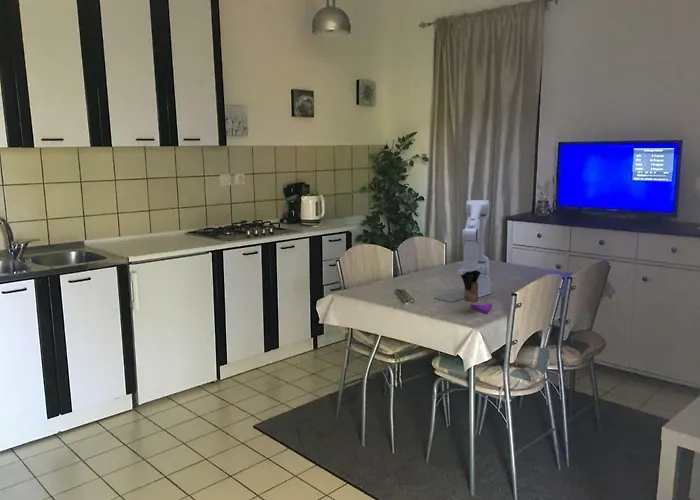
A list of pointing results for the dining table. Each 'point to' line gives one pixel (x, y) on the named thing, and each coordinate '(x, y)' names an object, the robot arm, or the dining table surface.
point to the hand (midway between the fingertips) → (470, 289)
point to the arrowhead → (482, 308)
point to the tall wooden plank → (471, 293)
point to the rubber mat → (449, 297)
